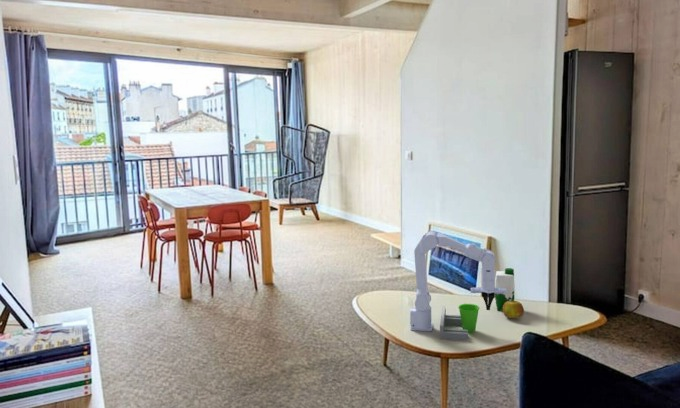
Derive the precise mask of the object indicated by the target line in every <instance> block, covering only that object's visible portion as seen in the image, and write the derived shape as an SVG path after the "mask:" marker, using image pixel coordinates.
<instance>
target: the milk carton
mask: <svg viewBox="0 0 680 408" xmlns="http://www.w3.org/2000/svg"><path fill="white" fill-rule="evenodd" d="M495 288H502V289H506V294H495V297H494V299H495V304H496V309H497V311H499V312H503V305H504V303H505V302H507V301H515V269H514V268H511V267H506V268H505V269H504V270H495Z"/></svg>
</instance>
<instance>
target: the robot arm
mask: <svg viewBox="0 0 680 408" xmlns="http://www.w3.org/2000/svg"><path fill="white" fill-rule="evenodd" d="M437 245H438V248H440V247H444V246H446V247H449V248H450V249H451V248H452V249H454V250H457V251H460V252H461V253H463V255H464V256H465V257H467V258H470V259H471V260H474V261H476V262H481V263H480V264H481V270H480V276H481V277H480V278H481V279H480V284H481V285H480V287H476V286H475V287H470V294H481V296H482V298H483V301H484V304H485V308H486V311H490V310H491V306H492V303H493V301H494V299H495V294H506V289H502V288H495V278H496V265H495V264H496V255H495V253H494V252H493V251H492V250H491V249H487V248H482V247H479V246H477V245H476V243H468V244H467V243H466V244H465V243H462V242H460V241H458V240H456V239H454V238H453V237H451V236H447V235H445V234H444V233H441V232H437V231H435V230H428V232H425V234H424V235H423V236H422V237H421V239H420V240H419V242H418V244H417V245H416V247H415V248H414V252H413V253H414V265H415V266H414V267H415V279H416V280H415V281H416V295H415V296H416V297H415V298H416V299H415V302H414V307H411V308H410V317H409V323H410V328H409V329H410V331H419V332H420V331H421V332H422V331H423V332H432V331H433V326H434V323H432V306H431V305H430V302H431V301H432V297H431V294H430V292H429V291H430V290H429V287H428V274H427V271H428V270H427V261H426V260H427V257H426V254H427V252H429V251H431V250H433V249H435V248H436V247H437Z"/></svg>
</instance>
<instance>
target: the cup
mask: <svg viewBox="0 0 680 408" xmlns="http://www.w3.org/2000/svg"><path fill="white" fill-rule="evenodd" d="M457 308H458V309H459V316H461V322H462V330H468V334H475V332H476V327H477V322H478V316H479V310H480V307H479V305H476V304H473V303H463V304H459V305H458V306H457Z"/></svg>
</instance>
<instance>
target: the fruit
mask: <svg viewBox="0 0 680 408" xmlns="http://www.w3.org/2000/svg"><path fill="white" fill-rule="evenodd" d="M524 309H525V308H524V306H523V303H521V302H520V301H519V300H514V301H507V302H505V303H504V305H503V311H502V313H503V315H504V317H506V318H508V319H519V318H520V319H521V318H522V316H523V315H524V314H525V310H524Z"/></svg>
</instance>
